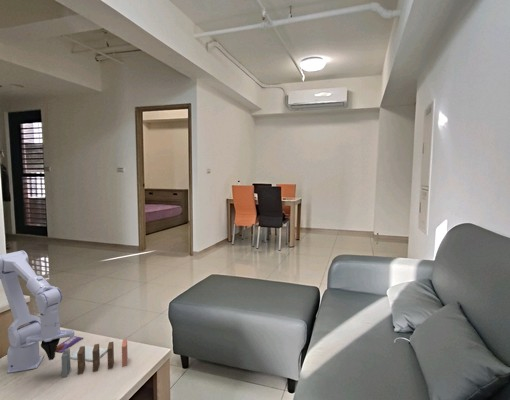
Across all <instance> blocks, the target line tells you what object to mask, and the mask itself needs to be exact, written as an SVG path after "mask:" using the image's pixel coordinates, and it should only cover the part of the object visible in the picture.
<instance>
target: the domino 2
mask: <svg viewBox="0 0 510 400" xmlns="http://www.w3.org/2000/svg"><path fill="white" fill-rule="evenodd" d="M85 346H86V345H81V346H79V347H80V348H79V347H78V348H79V351H78V353H77V360H76V361H77V375H83V374H84V371H85V368H86V361H85Z"/></svg>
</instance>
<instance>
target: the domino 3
mask: <svg viewBox="0 0 510 400" xmlns="http://www.w3.org/2000/svg"><path fill="white" fill-rule="evenodd" d="M93 347H94V348H93V351H92V354H93V362H92V372H93V373H94V372H95V373H96V372H98V371H99V367H100V364H101V358H100V351H99V348H100V343H95V344H94V345H93Z"/></svg>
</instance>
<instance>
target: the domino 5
mask: <svg viewBox="0 0 510 400" xmlns="http://www.w3.org/2000/svg"><path fill="white" fill-rule="evenodd" d="M127 366H128V339H122V343H121V367H122V368H123V367H124V368H125V367H127Z"/></svg>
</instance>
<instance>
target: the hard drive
mask: <svg viewBox="0 0 510 400" xmlns="http://www.w3.org/2000/svg"><path fill="white" fill-rule="evenodd" d="M84 346H85V362H88V363H93V354H92V351H93V348H94V346H89V345H84ZM80 347H81V346H79V347H78V348H77V349H76V350H74V351H73V352H71V353H70V360H74V361H77V353H78V351H79V348H80ZM107 349H108V348H105V347H99V351H100V359H101V358H102V357H103V356H104V355H106V354H107Z"/></svg>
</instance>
